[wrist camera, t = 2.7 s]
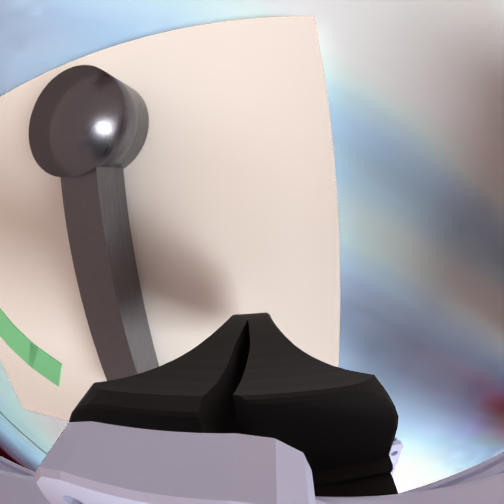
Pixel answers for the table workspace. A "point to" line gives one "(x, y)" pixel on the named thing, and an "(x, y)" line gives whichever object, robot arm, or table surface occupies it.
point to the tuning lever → (98, 204)
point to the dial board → (183, 205)
